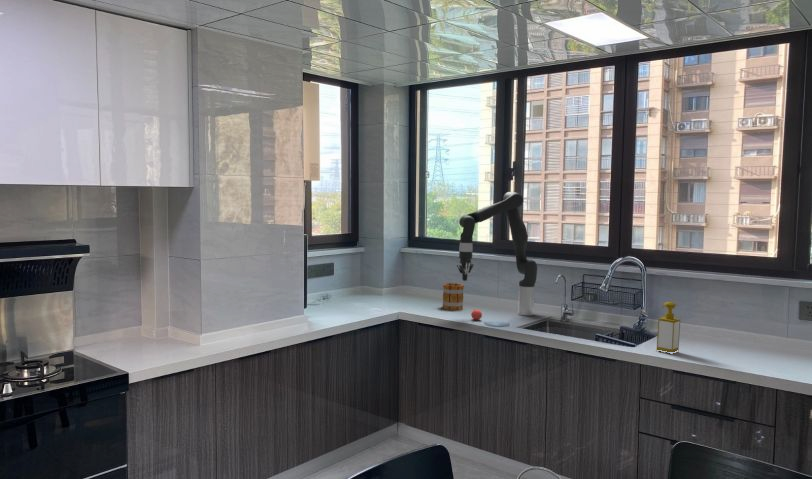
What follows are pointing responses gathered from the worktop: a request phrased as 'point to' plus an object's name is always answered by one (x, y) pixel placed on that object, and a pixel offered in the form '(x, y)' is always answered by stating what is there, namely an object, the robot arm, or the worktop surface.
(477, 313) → the ball
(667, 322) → the soap bottle
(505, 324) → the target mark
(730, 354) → the worktop surface
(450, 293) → the brown wooden cylinder
